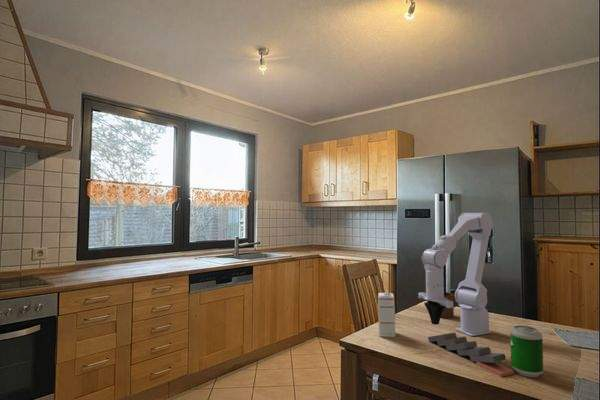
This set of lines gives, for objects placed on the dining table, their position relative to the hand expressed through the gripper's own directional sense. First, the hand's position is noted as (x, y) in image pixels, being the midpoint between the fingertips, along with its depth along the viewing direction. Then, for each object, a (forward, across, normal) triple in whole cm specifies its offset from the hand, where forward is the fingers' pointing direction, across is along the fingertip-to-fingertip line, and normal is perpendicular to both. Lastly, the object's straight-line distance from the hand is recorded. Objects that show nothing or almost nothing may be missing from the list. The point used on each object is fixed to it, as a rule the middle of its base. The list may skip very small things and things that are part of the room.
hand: (435, 323), depth 122 cm
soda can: (+6, +28, +6) cm, 29 cm away
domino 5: (+5, +16, 0) cm, 17 cm away
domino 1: (+5, -1, 0) cm, 5 cm away
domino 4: (+5, +12, 0) cm, 13 cm away
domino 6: (+6, +19, 0) cm, 20 cm away
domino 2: (+5, +4, 0) cm, 6 cm away
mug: (+6, -20, +26) cm, 33 cm away
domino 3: (+5, +7, 0) cm, 9 cm away
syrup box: (+6, -12, -12) cm, 18 cm away
